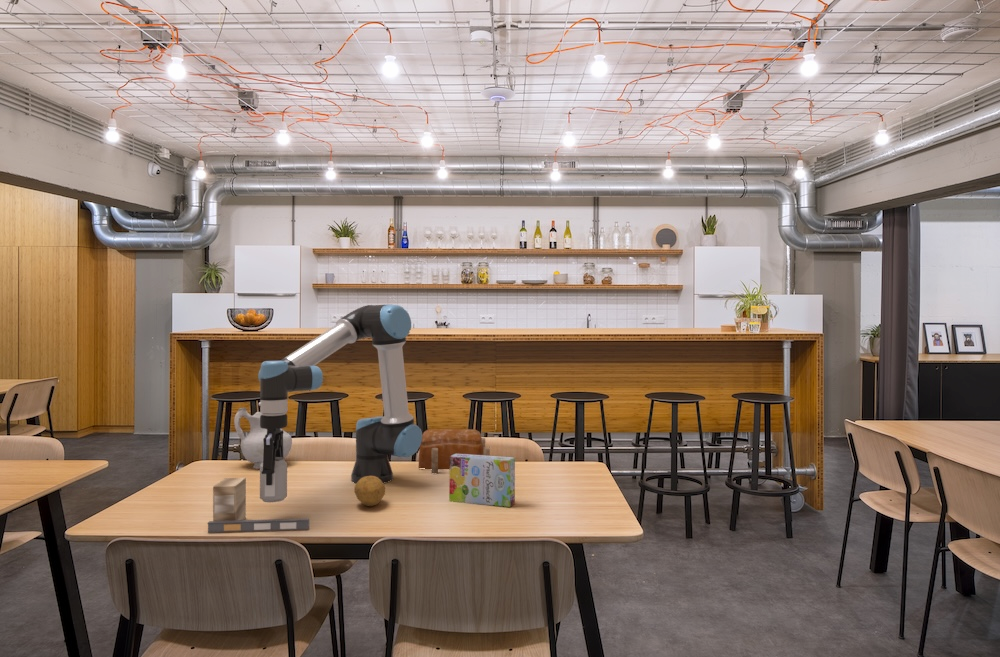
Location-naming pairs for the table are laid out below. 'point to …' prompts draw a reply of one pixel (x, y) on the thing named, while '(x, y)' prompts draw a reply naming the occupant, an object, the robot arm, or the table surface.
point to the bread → (448, 445)
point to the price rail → (258, 525)
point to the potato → (370, 490)
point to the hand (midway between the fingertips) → (273, 492)
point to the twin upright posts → (435, 456)
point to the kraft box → (229, 500)
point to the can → (280, 481)
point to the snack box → (482, 479)
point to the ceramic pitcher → (256, 438)
